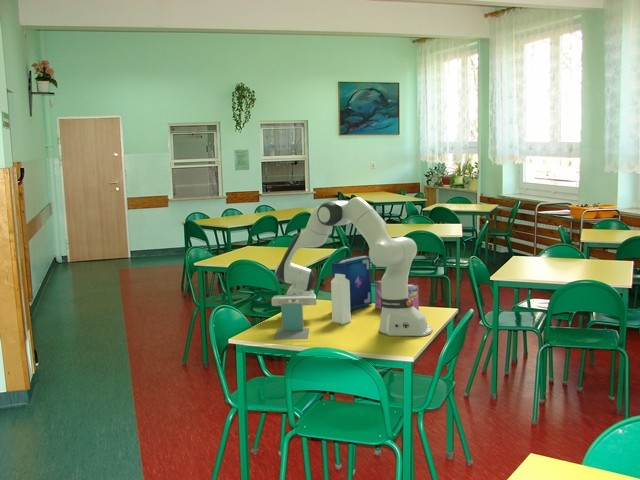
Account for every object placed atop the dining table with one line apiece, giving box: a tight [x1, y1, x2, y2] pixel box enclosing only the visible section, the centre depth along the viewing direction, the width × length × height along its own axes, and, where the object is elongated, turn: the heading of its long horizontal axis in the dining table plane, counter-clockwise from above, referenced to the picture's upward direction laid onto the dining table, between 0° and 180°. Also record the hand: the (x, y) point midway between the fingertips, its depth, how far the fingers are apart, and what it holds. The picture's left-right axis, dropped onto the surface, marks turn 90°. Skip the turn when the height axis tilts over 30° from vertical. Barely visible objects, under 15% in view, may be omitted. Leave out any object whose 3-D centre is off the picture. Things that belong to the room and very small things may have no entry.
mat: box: [273, 327, 310, 341], centre depth 272 cm, size 17×14×1 cm
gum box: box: [374, 280, 420, 311], centre depth 311 cm, size 24×8×14 cm, turn 38°
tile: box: [280, 302, 305, 331], centre depth 277 cm, size 2×9×12 cm, turn 88°
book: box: [331, 255, 373, 311], centre depth 318 cm, size 22×7×25 cm, turn 132°
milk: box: [330, 274, 352, 326], centre depth 290 cm, size 6×6×22 cm
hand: (293, 304), depth 286 cm, fingers closed
